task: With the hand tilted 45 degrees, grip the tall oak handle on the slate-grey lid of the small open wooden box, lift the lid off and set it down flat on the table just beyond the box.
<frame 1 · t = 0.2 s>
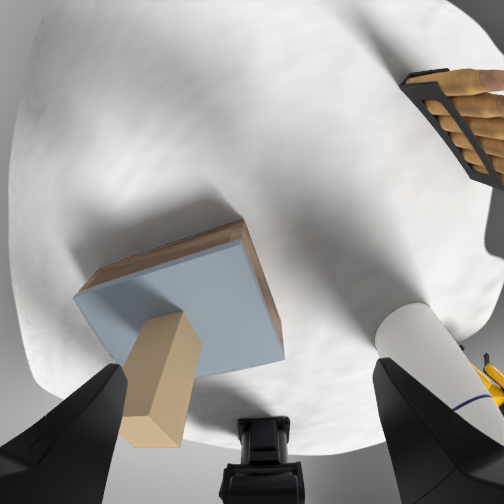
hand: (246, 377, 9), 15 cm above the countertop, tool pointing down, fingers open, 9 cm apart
cylindrical container: (405, 330, 27), on the countertop
robot dog: (468, 362, 30), on the countertop
open wooden box: (187, 296, 26), on the countertop
ammunition clip: (444, 128, 19), on the countertop
lid: (176, 324, 22), point 4 cm above the countertop, touching open wooden box
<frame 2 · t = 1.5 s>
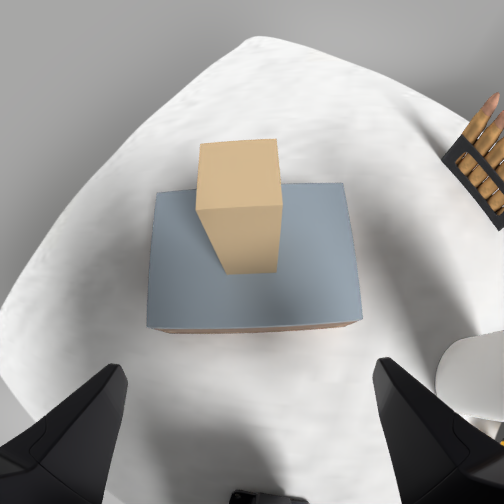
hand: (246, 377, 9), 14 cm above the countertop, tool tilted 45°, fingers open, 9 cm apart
cylindrical container: (463, 375, 20), on the countertop
open wooden box: (254, 271, 25), on the countertop
ammunition clip: (473, 192, 26), on the countertop
lid: (251, 255, 21), point 4 cm above the countertop, touching open wooden box
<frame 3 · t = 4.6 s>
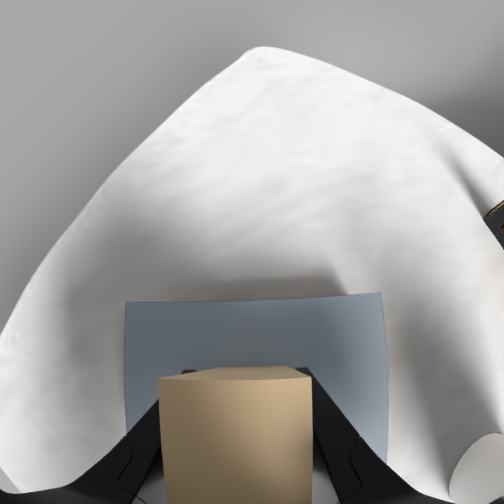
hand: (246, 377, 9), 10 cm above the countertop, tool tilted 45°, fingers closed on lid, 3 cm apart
cylindrical container: (478, 469, 14), on the countertop
lid: (254, 394, 15), point 4 cm above the countertop, touching gripper, open wooden box
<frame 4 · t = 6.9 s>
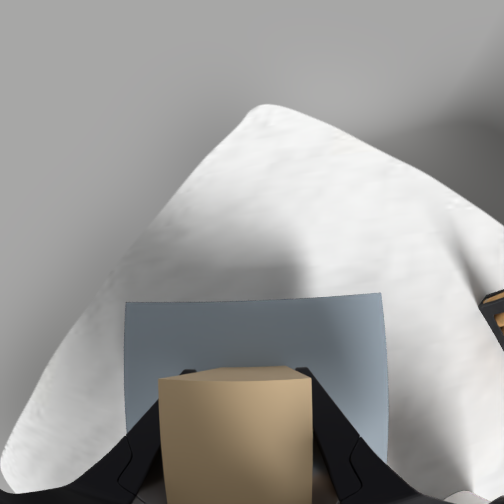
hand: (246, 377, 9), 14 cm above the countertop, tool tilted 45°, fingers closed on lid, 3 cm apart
ammunition clip: (503, 339, 21), on the countertop
lid: (254, 395, 15), point 8 cm above the countertop, touching gripper
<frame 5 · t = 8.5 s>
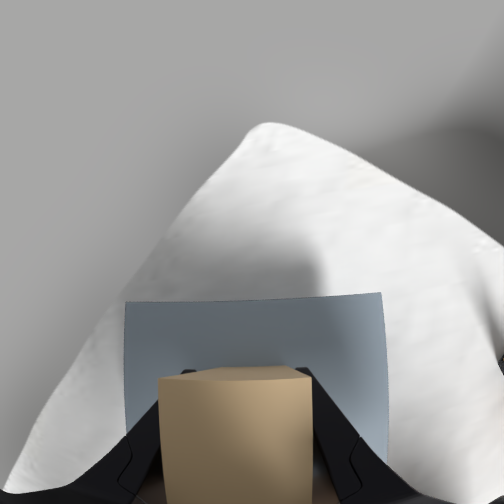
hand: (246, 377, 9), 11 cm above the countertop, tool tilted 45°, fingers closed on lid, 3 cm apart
lid: (254, 394, 15), point 5 cm above the countertop, touching gripper
when the fingers open (8 cm above the countertop, at t = 9.4 s): lid drops 2 cm, on the countertop.
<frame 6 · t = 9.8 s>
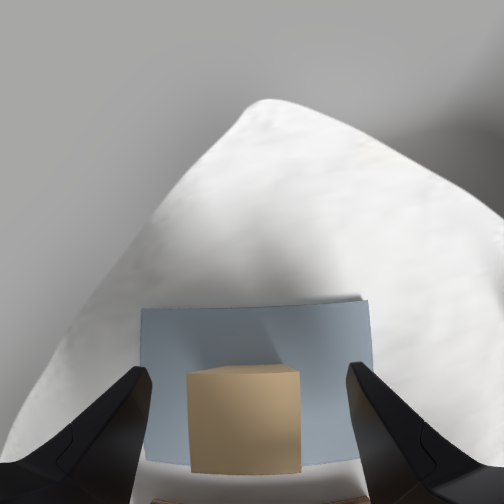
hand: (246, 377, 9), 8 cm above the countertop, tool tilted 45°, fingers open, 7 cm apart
lid: (256, 389, 17), on the countertop
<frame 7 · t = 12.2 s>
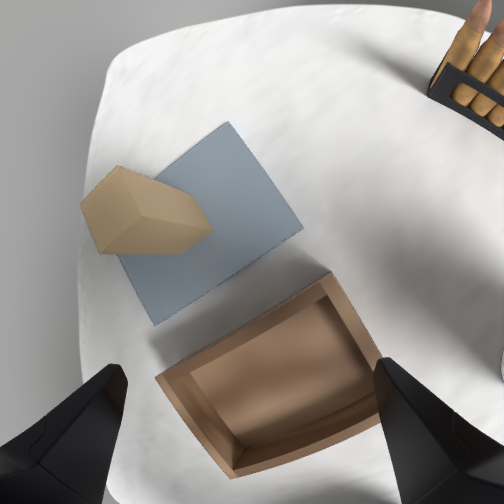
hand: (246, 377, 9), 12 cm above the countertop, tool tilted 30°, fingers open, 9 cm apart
open wooden box: (284, 377, 21), on the countertop
ammunition clip: (481, 118, 17), on the countertop
lid: (192, 226, 23), on the countertop
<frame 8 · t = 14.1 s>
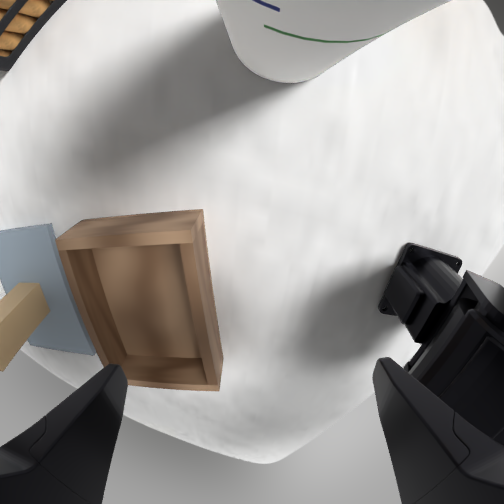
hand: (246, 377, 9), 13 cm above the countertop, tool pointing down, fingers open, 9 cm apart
cylindrical container: (286, 34, 15), on the countertop
open wooden box: (154, 296, 24), on the countertop
ammunition clip: (43, 18, 13), on the countertop
lid: (39, 291, 24), on the countertop
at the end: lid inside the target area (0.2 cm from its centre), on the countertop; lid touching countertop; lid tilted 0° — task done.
